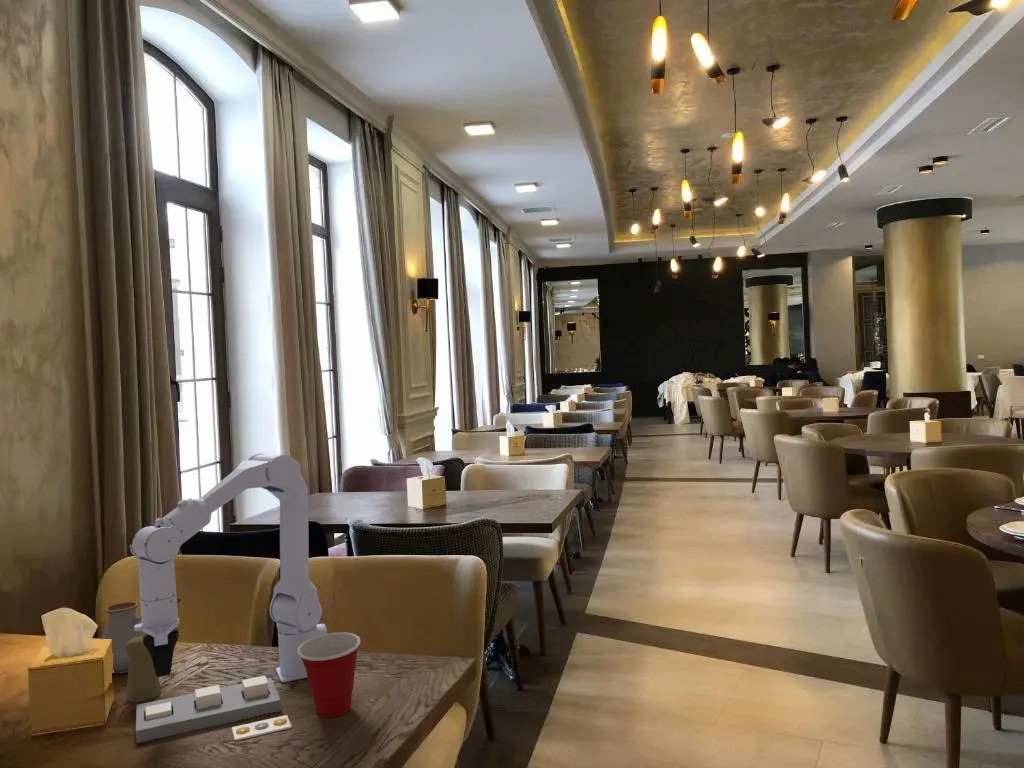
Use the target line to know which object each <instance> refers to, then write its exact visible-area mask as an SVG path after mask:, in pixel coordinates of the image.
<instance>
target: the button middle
mask: <svg viewBox="0 0 1024 768" xmlns="http://www.w3.org/2000/svg"><path fill="white" fill-rule="evenodd" d="M220 688H221V687H220V685H219V684H217V685H211V686H206V687H202V688H196V689H194V693H195V700H196V709H202V708H207V707H212V706H216V705H221V692H220Z"/></svg>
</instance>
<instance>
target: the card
mask: <svg viewBox="0 0 1024 768" xmlns="http://www.w3.org/2000/svg"><path fill="white" fill-rule="evenodd" d="M289 719H290V718H289V717H288V714H285V715H281V716H276V717H273V718H272V717H271V718H268V719H263V720H259V721H254V722H250V723H246V724H240V725H237V726H232V727H231V731H232V736H233V739H234V741H235V742H237V741H240V740H245V739H250V738H254V737H258V736H259V737H260V736H262V735H267V734H271V733H275V732H276V733H277V732H279V731H280V732H281V731H285V730H288V729H293V728H292V727H293V726H292V724H291V721H290V720H289Z"/></svg>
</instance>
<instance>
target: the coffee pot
mask: <svg viewBox="0 0 1024 768" xmlns="http://www.w3.org/2000/svg"><path fill="white" fill-rule="evenodd" d="M180 602H182V603H183V606H182V607H179V606H178V605H177V609H181V610H182V609H183V608H184V607H185V605H186V604H185V601H184V599H181V598H177V604H178V603H180ZM139 605H140V604H139V603H138V602H136V601H128V602H127V601H125V602H119V603H115V604H112V605H108V606H106V607H104V612H105V613H106V614H107V617H108V620H107V622H106V625H105V627H104V630H103V633H102V635H101V637H100V640H101V639H112V653H113V670H114V674H113V675H118V674H117V673H120V674H126V673H128V669H129V656H128V655H127V653H126V644H127V642H128V641H129V640H131V639H132V638H135V637H139V636H144V635H145V634H147V633H145V632H143V631H135V628H134V626H135V625H136V624H141V623H142V618H141V615H140V616H137V608H138V607H139ZM115 673H116V674H115Z"/></svg>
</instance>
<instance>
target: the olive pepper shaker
mask: <svg viewBox="0 0 1024 768" xmlns="http://www.w3.org/2000/svg"><path fill="white" fill-rule="evenodd" d="M126 653H127V655H128V656H129V669H128V672H127V684H126V685H127V686H126V697H125V698H126V701H127V702H130V703H139V702H140V703H141V702H146V701H149V700H152V699H155V698H157V697H159V696H160V695H161V693H162V689H161V683H160V679H159V678H160V677H157V675H156V673H155V670H154V666H153V662H152V658H151V655H150V653H149V651H148V649H147V648H146V647H145V645H144V643H143V636H139V637H135V638H132V639H131V640H129V641H128V642H127V644H126Z"/></svg>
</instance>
